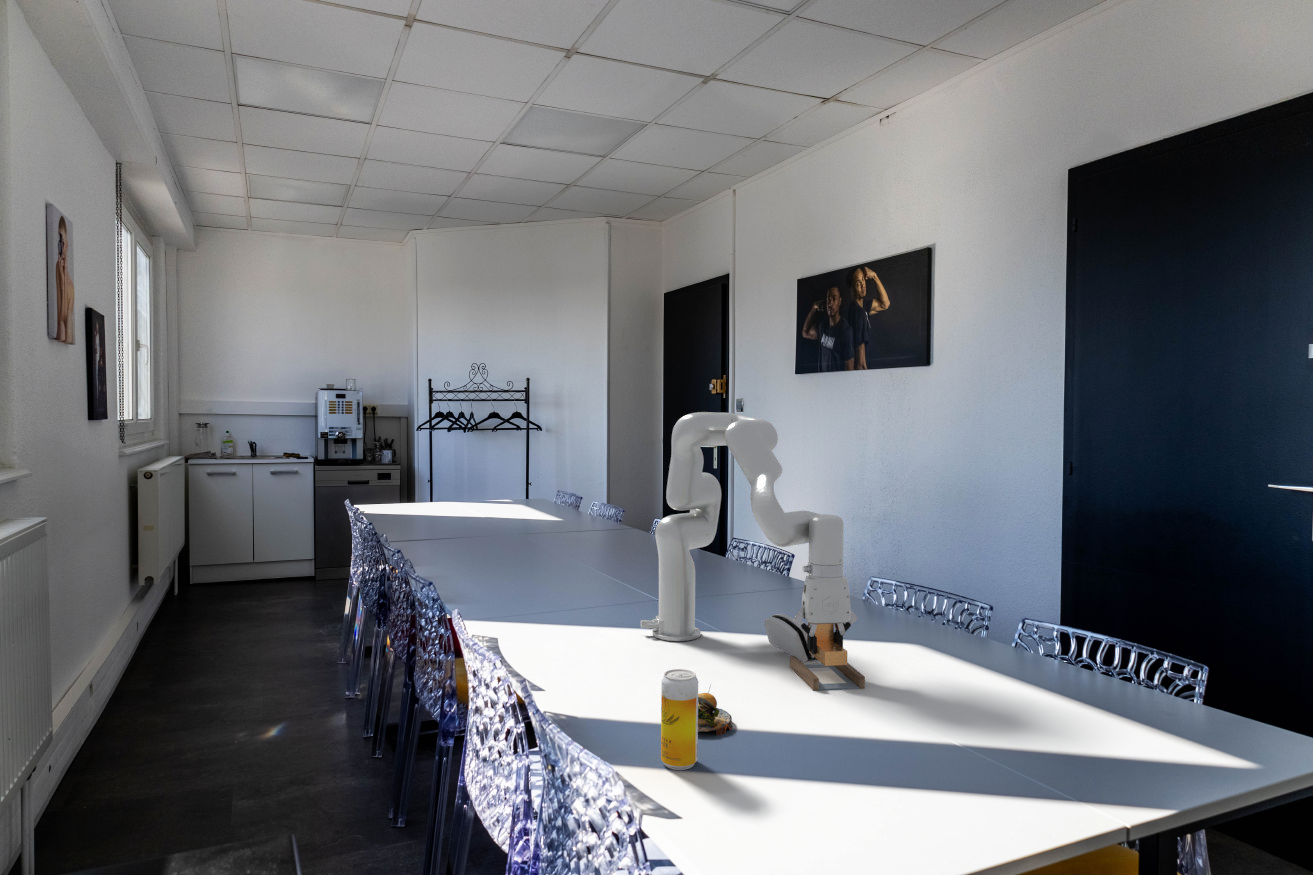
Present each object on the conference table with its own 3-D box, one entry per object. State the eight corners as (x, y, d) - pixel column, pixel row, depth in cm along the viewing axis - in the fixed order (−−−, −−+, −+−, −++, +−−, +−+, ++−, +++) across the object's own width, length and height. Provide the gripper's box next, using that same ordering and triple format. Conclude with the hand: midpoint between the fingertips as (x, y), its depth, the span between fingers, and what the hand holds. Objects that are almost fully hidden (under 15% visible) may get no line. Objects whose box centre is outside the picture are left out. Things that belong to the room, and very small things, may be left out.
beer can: (659, 755, 137) (660, 668, 137) (694, 754, 138) (695, 667, 137) (662, 771, 131) (663, 680, 131) (699, 770, 132) (700, 679, 131)
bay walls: (813, 690, 170) (813, 678, 170) (789, 666, 186) (789, 655, 186) (864, 688, 172) (864, 676, 172) (836, 664, 188) (837, 654, 188)
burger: (659, 719, 155) (659, 680, 154) (714, 710, 159) (714, 673, 159) (686, 742, 144) (686, 701, 143) (744, 732, 148) (744, 692, 148)
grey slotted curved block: (822, 659, 192) (810, 621, 190) (805, 668, 190) (793, 629, 189) (786, 640, 207) (774, 605, 206) (770, 648, 206) (759, 613, 204)
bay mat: (819, 690, 171) (819, 688, 171) (794, 666, 186) (795, 664, 186) (858, 688, 172) (858, 686, 172) (831, 664, 188) (831, 663, 188)
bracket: (809, 652, 183) (809, 621, 183) (830, 651, 183) (830, 620, 183) (824, 665, 173) (825, 633, 173) (847, 664, 174) (847, 632, 173)
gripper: (794, 575, 174) (793, 658, 175) (869, 573, 177) (868, 655, 177) (783, 568, 182) (782, 648, 182) (855, 566, 184) (854, 645, 185)
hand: (825, 651), depth 180 cm, fingers closed on bracket, 5 cm apart
